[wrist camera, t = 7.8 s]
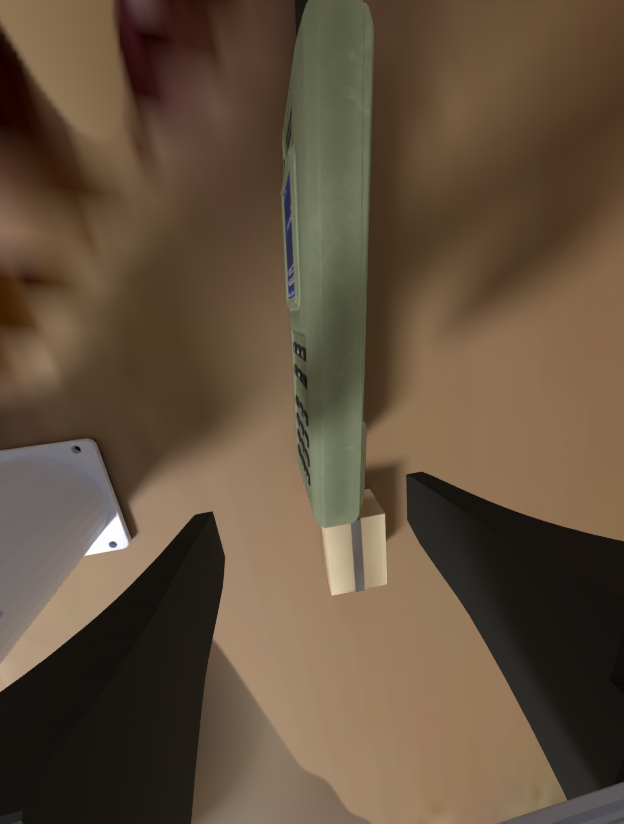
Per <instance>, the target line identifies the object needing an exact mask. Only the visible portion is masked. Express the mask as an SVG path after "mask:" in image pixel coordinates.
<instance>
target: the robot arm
mask: <svg viewBox="0 0 624 824" xmlns="http://www.w3.org/2000/svg"><path fill="white" fill-rule="evenodd" d="M75 446H78V447H80V449H81V451H78V450H77V449H76V448H75ZM406 483H407V520H408V522H409V524H410V526H411V528H412V530H413V532H414V534H415V535H416V537H417V539H418V541H419V543H420V544H421V546H422V547H423V549H424V550H425V552H426V553H427V555H428V556H429V557H430V559H431V560H432V562H433V563H434V565H435V566H436V567H437V569H438V570H439V572H440V573H441V574H442V576H443V577H444V579H445V580H446V582H447V583H448V584H449V586H450V587H451V589H452V590H453V591H454V593H455V594H456V596H457V597H458V599H459V600H460V601H461V603H462V605H463V606H464V608H465V609H466V611H467V612H468V614H469V615H470V617H471V619H472V621H473V622H474V624H475V626H476V627H477V629H478V631H479V633H480V634H481V636H482V638H483V639H484V641H485V643H486V645H487V646H488V648H489V650H490V652H491V654H492V655H493V657H494V659H495V661H496V663H497V664H498V666H499V668H500V670H501V672H502V673H503V675H504V677H505V679H506V681H507V682H508V684H509V686H510V688H511V690H512V692H513V694H514V696H515V697H516V699H517V701H518V703H519V705H520V707H521V709H522V711H523V713H524V715H525V716H526V718H527V720H528V722H529V724H530V726H531V728H532V730H533V732H534V734H535V736H536V738H537V740H538V742H539V744H540V746H541V748H542V750H543V752H544V754H545V756H546V758H547V760H548V762H549V764H550V766H551V768H552V770H553V772H554V774H555V776H556V778H557V780H558V782H559V784H560V786H561V788H562V790H563V792H564V794H565V796H566V798H567V801H564V802H561V803H558V804H555V805H552V806H549V807H546V808H543V809H540V810H537V811H534V812H531V813H528V814H525V815H522V816H519V817H516V818H513V819H510V820H507V821H504V822H501V823H498V824H624V541H620V540H615V539H610V538H606V537H602V536H597V535H593V534H589V533H585V532H581V531H578V530H574V529H570V528H566V527H562V526H559V525H556V524H552V523H549V522H545V521H542V520H539V519H536V518H533V517H530V516H527V515H524V514H521V513H518V512H516V511H513V510H510V509H507V508H505V507H502V506H500V505H497V504H495V503H492V502H490V501H487V500H485V499H483V498H480V497H478V496H476V495H473V494H471V493H469V492H466V491H464V490H462V489H460V488H458V487H455V486H453V485H451V484H449V483H447V482H445V481H442V480H440V479H438V478H436V477H434V476H431V475H429V474H427V473H424V472H417V473H412V474H407V475H406ZM112 541H114V542H116V543H117V544H115V543H113V542H112ZM130 542H131V537H130V534H129V532H128V529H127V526H126V523H125V520H124V518H123V515H122V512H121V509H120V507H119V504H118V501H117V498H116V496H115V493H114V490H113V487H112V485H111V482H110V479H109V476H108V474H107V471H106V468H105V465H104V463H103V460H102V457H101V454H100V451H99V449H98V446H97V444H96V442H95V441H93V440H91V439H79V440H72V441H64V442H57V443H50V444H43V445H36V446H28V447H21V448H14V449H7V450H0V664H1V662H2V661H3V660H4V658H5V657H6V656H7V655H8V653H9V652H10V651H11V649H12V648H13V647H14V646H15V644H16V643H17V642H18V640H19V639H20V638H21V637H22V635H23V634H24V633H25V631H26V630H27V629H28V627H29V626H30V625H31V624H32V622H33V621H34V620H35V618H36V617H37V616H38V615H39V613H40V612H41V611H42V609H43V608H44V607H45V606H46V604H47V603H48V602H49V600H50V599H51V598H52V597H53V595H54V594H55V593H56V591H57V590H58V589H59V588H60V586H61V585H62V584H63V582H64V581H65V580H66V579H67V577H68V576H69V575H70V573H71V572H72V571H73V570H74V568H75V567H76V566H77V564H78V563H79V562H80V561H81V559H82V558H83V557H84V556H85V555H91V554H96V553H102V552H107V551H113V550H119V549H124V548H126V547H128V546H129V544H130ZM224 565H225V555H224V551H223V548H222V544H221V540H220V537H219V533H218V529H217V526H216V522H215V518H214V514H213V511H212V512H207V513H202V514H196V515H194V516H193V518H192V519H191V520H190V521H189V522H188V523H187V524H186V525H185V527H184V528H183V529H182V530H181V531H180V532H179V534H178V535H177V536H176V537H175V538H174V539H173V540H172V542H171V543H170V544H169V545H168V546H167V547H166V548H165V549H164V551H163V552H162V553H161V554H160V555H159V556H158V557H157V558H156V560H155V561H154V562H153V563H152V564H151V565H150V566H149V567H148V568H147V569H146V570H145V571H144V572H143V573H142V574H141V575H140V576H139V577H138V578H137V579H136V580H135V581H134V582H133V583H132V584H131V585H130V586H129V587H128V588H127V589H126V590H125V591H124V592H123V593H122V594H121V595H120V596H119V597H118V598H117V599H116V600H115V601H114V602H113V603H112V604H110V605H109V606H108V607H107V608H106V609H105V610H104V611H103V612H102V613H100V614H99V615H98V616H97V617H96V618H95V619H94V620H92V621H91V622H90V623H89V624H88V625H87V626H85V627H84V628H83V629H82V630H80V631H79V632H78V633H77V634H75V635H74V636H73V637H72V638H71V639H69V640H68V641H67V642H66V643H64V644H63V645H62V646H61V647H60V648H58V649H57V650H56V651H55V652H53V653H52V654H51V655H50V656H48V657H47V658H46V659H44V660H43V661H42V662H41V663H39V664H38V665H37V666H35V667H34V668H33V669H31V670H30V671H29V672H27V673H26V674H25V675H23V676H22V677H21V678H19V679H18V680H16V681H15V682H14V683H12V684H11V685H10V686H8V687H7V688H5V689H4V690H3V691H1V692H0V824H191V816H192V804H193V793H194V780H195V768H196V759H197V749H198V739H199V729H200V719H201V710H202V701H203V693H204V684H205V676H206V670H207V664H208V658H209V653H210V648H211V644H212V639H213V634H214V629H215V624H216V619H217V614H218V609H219V604H220V599H221V593H222V588H223V579H224Z"/></svg>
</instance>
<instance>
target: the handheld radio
mask: <svg viewBox="0 0 624 824" xmlns="http://www.w3.org/2000/svg"><path fill="white" fill-rule="evenodd" d="M295 10H296V44H295V49H294V56H293V62H292V69H291V76H290V83H289V90H288V97H287V104H286V111H285V118H284V125H283V132H282V162H283V184H282V189H281V191H280V195H281V209H282V229H283V249H284V268H285V288H286V306H287V307H288V309H289V316H290V328H291V338H292V357H293V376H294V395H295V414H296V433H297V452H298V464H299V467H300V471H301V474H302V478H303V481H304V484H305V488H306V491H307V495H308V498H309V501H310V505H311V508H312V511H313V515H314V517H315V520H316V521H317V523H318V524H320V525H321V526H322V527H324V528H329V527H335V526H340V525H345V524H350V523H354V522H355V521H356V520H357V518H358V516H359V513H360V509H361V504H362V503H363V499H364V491H365V461H366V431H367V426H366V423H365V422H364V421H363V412H364V378H365V343H366V309H367V274H368V240H369V206H370V171H371V137H372V102H373V68H374V26H373V20H372V16H371V12H370V9H369V6H368V5H367V4H366V3H363V0H295Z"/></svg>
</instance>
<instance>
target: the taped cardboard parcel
mask: <svg viewBox="0 0 624 824" xmlns="http://www.w3.org/2000/svg"><path fill="white" fill-rule="evenodd" d="M320 529H321V538H322V547H323V556H324V563H325V568H326V572H327V576H328V581H329V585H330V589H331V594H332V595H337V594H342V593H347V592H352V591H356V592H358V591H363V590H364V589H366V588H371V587H376V586H381V585H385V584H387V571H386V533H385V513H384V511H383V510H382V508H381V506H380V505H379V503H378V501H377V500H376V498H375V496H374V495H373V493H372V491H371V490H370V489H365V491H364V499H363V503H362V504H361V509H360V513H359V516H358V518H357V520H356V521H355V522H354V523H350V524H345V525H340V526H335V527H329V528H324V527H322V526H321V525H320Z"/></svg>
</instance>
